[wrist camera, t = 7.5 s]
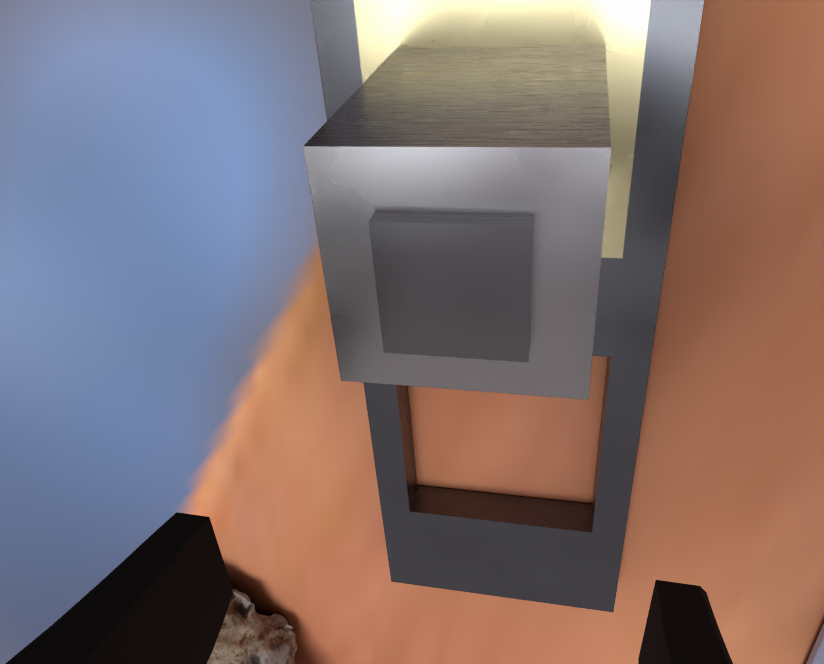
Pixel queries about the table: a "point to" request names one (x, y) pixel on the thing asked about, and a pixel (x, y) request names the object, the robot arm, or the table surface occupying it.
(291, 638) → the rock
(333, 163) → the grey upright block
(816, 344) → the table surface
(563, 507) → the rail plate
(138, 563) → the robot arm
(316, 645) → the table surface
